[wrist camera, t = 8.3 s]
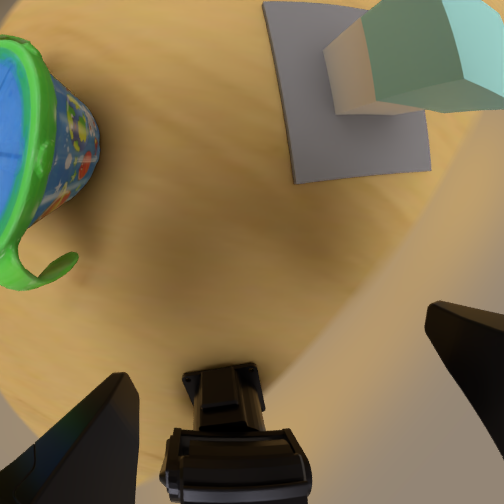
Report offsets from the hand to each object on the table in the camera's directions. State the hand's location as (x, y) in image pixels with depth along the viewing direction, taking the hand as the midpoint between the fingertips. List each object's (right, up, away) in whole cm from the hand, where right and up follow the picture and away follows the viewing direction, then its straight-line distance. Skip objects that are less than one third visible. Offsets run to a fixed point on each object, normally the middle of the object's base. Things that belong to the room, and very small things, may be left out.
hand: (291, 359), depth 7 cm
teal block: (+7, +13, +4) cm, 15 cm away
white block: (+7, +15, +9) cm, 19 cm away
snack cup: (-15, +10, +9) cm, 20 cm away
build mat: (+7, +15, +10) cm, 19 cm away
